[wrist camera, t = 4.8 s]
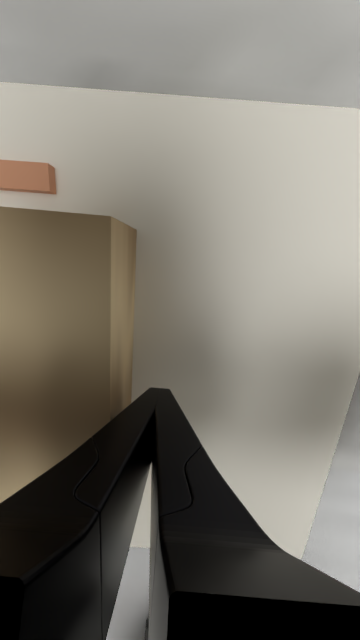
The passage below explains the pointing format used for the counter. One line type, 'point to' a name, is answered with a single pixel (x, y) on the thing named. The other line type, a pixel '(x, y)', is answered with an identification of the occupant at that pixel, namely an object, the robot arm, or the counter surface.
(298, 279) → the board
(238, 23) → the counter surface
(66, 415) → the t block
